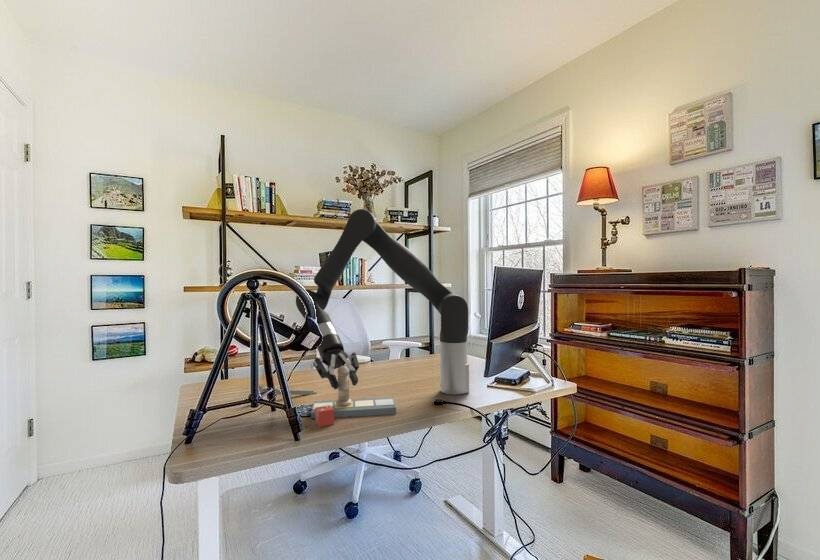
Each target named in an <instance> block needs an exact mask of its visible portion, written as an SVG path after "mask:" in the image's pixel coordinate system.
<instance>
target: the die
mask: <svg viewBox="0 0 820 560" xmlns="http://www.w3.org/2000/svg"><path fill="white" fill-rule="evenodd" d="M314 422H315V424H316V423H317V424H318V425H317V424H316V425H317V426H318V428H321V427H320V426H322V427H326V426H325V425H327V426H331V425H330V424H333V425H335V418H334V409H333V408H332V407H331V406H330V405H328V406H322V407H316V408H315V419H314Z"/></svg>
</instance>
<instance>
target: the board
mask: <svg viewBox="0 0 820 560" xmlns="http://www.w3.org/2000/svg"><path fill="white" fill-rule="evenodd" d="M336 400H337V399H336ZM336 400H321V401H313V404H312V408H311V412H310V419H311V418H315V408H316V407H322V406H328V405H330V406H331V407H332V408H333V409H334V417H336V418H348V416H352V417H362V416H363V417H365V416H367V417H369V416H381V415H382V416H383V415H397V406H396V403H395V400H394V398H393V396H392V397H391V396H389V397H375V398H373V397H372V398H357V399H356V398H355V399H353V398H352V399H351V405H349V406H337V405H336Z"/></svg>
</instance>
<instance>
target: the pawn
mask: <svg viewBox="0 0 820 560" xmlns="http://www.w3.org/2000/svg"><path fill="white" fill-rule="evenodd" d="M336 373H337V381H338V384H339V387H338V388H337V399H336V405H337V406H349V405H351V400H352V399H351V398H350V382H349V381H350V377H349V369H348V368H347V367H346V366H341V367H339V368H337V372H336Z"/></svg>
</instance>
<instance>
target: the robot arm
mask: <svg viewBox="0 0 820 560" xmlns="http://www.w3.org/2000/svg"><path fill="white" fill-rule="evenodd" d="M362 242H364V243H365V244H367V246H369V247H370V248H371V249H373V251H375V252H376V253H377V254H378V255H379V257H380V258H381V259H382V261H384V263H385V264H386V265H387V266H388V267H389V269H391V270H392V271H393V272H394V273H395V274H396V276H398V277H399V279H401V280H402V281H403V282H404V283H406V284H407V285H409V287H411V288H412V289H413V290H415V291H416V292H418V293H420V294H421V295H422V296H423V297H425V299H426V300H428V301H429V302H430V303H431V305H432V306H433V307H434V308H435V310H437V312H438V314H440V332H439V372H440V373H439V374H440V375H439V377H440V381H439V383H440V384H439V385H440V389H439V390H440V392H441V393H443V394H444V395H445V394H447V395H453V396H455V395H464V394H467V393H468V394H469V393H470V365H469V363H468V342H467V341H468V333H469V307H468V303H467V301H466V299H465V298H464V297H463V296H460V295H458V294H456V293H454V292H453V291H451V290H450V289H448V288H447V287H446V286H444V284H442V283H441V282H440V281H439V279H437V277H435V274H434V273H433V272H432V271H431V269H429V268H428V266H427V265H426V264H425V263H424V262H423V261H422V259H420V258H419V257H418V256H417V255H416V254H415V253H414V252H413V251H412V250H410V249H409V248H407V247H406V246H405V245H404V244H402V243H400V241H398V240H396V239H395V238H393V236H390V234H389V233H388V232H386V231H385V229H384V228H383V227H382V226H381V225H380V223H379V222H378V221H377V220H376V219H375V217H374V215H373V213H372V212H370V211H369V210H367V209H364V208H361V209H357V210H354V211H353V212H352V213H350V215H349V217H348V219H347V222H346V224H345V226H344V228H343V231H342V233H341V235H340V237H339V239H338V241H337V243H336V244H335V245H334V247H333V249H332V251H331V252H330V253H329V255H328V257H326V259H325V260H324V262H323V264H322V265H321V267H320V268H319V270H318V272H317V273H316V274H315V276H314V278H313V282H314V283H315V285H316V286H317V289H316V292H315V291H314V290H311V289H306V288H304V289H305V290H306V291H307V292H308V293H309V295H310V296H311V297H312V299H313V301H314V305H315V309H316V317H317V323H318V326H319V329H320V331H321V333H322V335H323V341H322V343H321V345H320V346H319V347H318V348H317V347H316V349H317V351H318V353H319V356H320V357H315V359H314V360H313V363H312V364H313V366H314V368H315V370H316V371H317V373H318V375H319V377H320V378H321V379H327V380H328V381H329V384H330V386H331V388H333V390H338V387H339V384H338V378H337V377H336V374H334V373H335V372H334V371H335V370H336V369H338V368H339V367H341V366H346V367H347V368H348V369H349V374H348V375H349V380H350V382H351V383H352V386H357V384H358V382H359V378H358V375H357V372H358V370H359V368H360V363H359V360H358V356H357V353H356V352H355V351H354V352H352V353H347V351H345V347H344V344H343V342H342V340H341V338H340V335H339V333H338V331H337V329H336V327H335V326H334V324H333V322H332V320H331V318H330V315H329V313H327V312H326V308H327V306H328V304H329V300H330V298H331V294H332V292H333V289H334V286H335V285H336V284H337V282H338V281H339V279H340V278H341V276H342V274H343V272H344V271H345V269H346V267H347V265H348V264H349V262H350V259H351V257H352V256H353V254H354V252H355V250H356V249H357V248H358V246H359V245H360V244H361V243H362ZM295 305H296V306H295V307H297V310H298V311H299V313H300V315H301V316H302V317H303V319H304V320H305V315H306V312H305V308H304V305H303V303H302V302H301V300H300V299H299V297H298V296H297V295H296V296H295ZM324 365H326V366H327V367H325V366H324Z"/></svg>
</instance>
